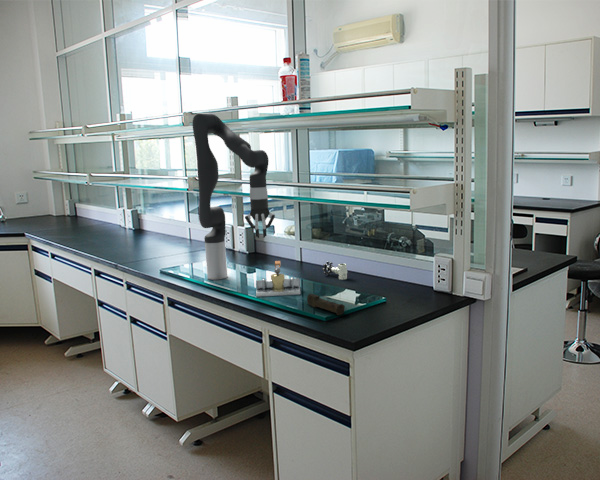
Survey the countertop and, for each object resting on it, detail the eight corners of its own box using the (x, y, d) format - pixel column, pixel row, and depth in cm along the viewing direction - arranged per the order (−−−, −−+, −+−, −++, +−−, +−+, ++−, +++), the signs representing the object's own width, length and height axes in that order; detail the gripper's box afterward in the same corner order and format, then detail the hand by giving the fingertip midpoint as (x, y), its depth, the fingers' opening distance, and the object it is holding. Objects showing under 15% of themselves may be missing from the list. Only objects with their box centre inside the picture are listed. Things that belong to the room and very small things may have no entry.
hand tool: (345, 314, 197) (345, 301, 196) (337, 316, 195) (336, 304, 194) (313, 303, 212) (313, 291, 211) (305, 305, 210) (304, 293, 209)
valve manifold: (257, 288, 235) (256, 270, 234) (299, 286, 235) (298, 268, 234) (256, 296, 223) (255, 277, 222) (300, 294, 224) (299, 275, 222)
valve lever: (280, 273, 227) (280, 268, 226) (274, 273, 227) (274, 269, 226) (280, 264, 242) (280, 260, 241) (275, 265, 242) (275, 261, 241)
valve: (351, 278, 246) (332, 273, 255) (351, 263, 244) (332, 259, 253) (340, 281, 241) (322, 276, 251) (340, 266, 240) (321, 262, 249)
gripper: (275, 195, 238) (277, 235, 241) (243, 197, 238) (246, 236, 241) (274, 197, 231) (277, 238, 234) (242, 199, 231) (244, 239, 234)
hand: (261, 237), depth 238 cm, fingers closed
